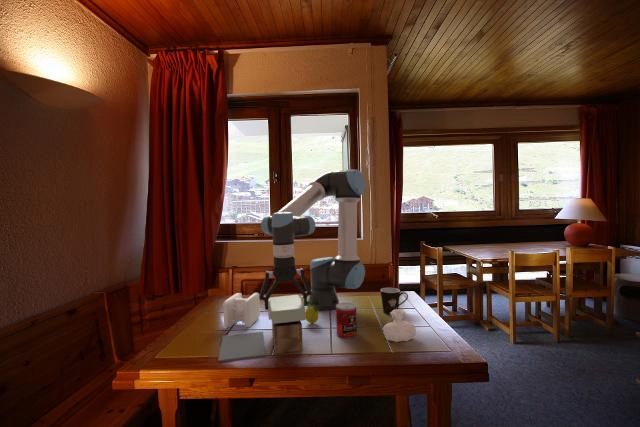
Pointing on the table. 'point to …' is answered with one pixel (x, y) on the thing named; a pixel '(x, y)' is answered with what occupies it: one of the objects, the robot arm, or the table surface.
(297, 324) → the box
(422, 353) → the table surface
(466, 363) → the table surface
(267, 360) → the table surface
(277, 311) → the lid
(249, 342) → the mat
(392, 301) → the coffee mug
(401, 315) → the bust
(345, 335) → the canned food
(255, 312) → the cable organizer
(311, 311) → the lemon
